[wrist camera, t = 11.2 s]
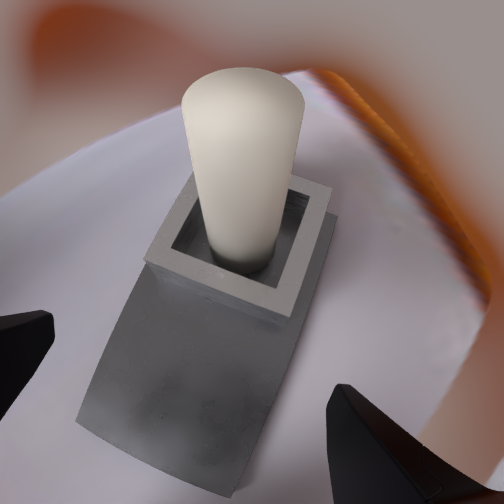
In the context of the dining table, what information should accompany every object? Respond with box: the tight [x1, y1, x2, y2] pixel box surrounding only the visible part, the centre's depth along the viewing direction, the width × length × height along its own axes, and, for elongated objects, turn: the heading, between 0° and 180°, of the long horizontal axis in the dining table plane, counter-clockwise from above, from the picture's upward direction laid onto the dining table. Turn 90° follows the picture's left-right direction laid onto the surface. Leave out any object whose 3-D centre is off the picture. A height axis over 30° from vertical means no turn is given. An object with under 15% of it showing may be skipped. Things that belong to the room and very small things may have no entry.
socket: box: [75, 171, 337, 498], centre depth 18 cm, size 20×11×4 cm, turn 159°
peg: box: [181, 67, 305, 274], centre depth 16 cm, size 4×4×12 cm
